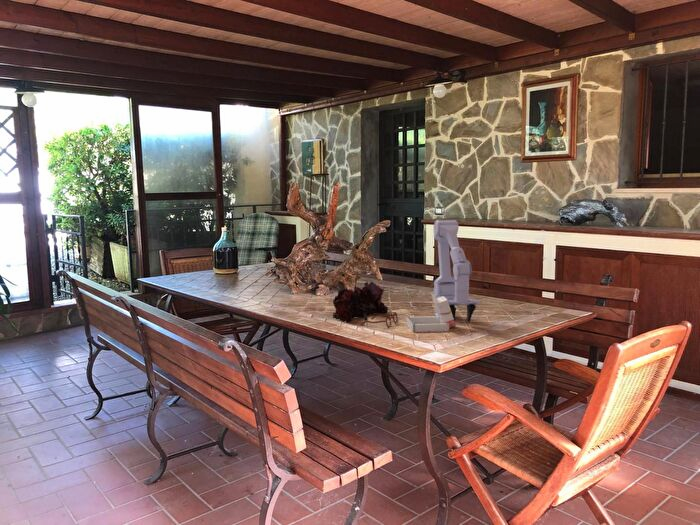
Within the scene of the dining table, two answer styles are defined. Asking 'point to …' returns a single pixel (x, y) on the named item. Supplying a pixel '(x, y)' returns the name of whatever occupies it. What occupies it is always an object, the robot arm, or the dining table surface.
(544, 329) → the dining table surface
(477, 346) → the dining table surface
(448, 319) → the ink cartridge box
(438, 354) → the dining table surface
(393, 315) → the glasses
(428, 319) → the sorting bay
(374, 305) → the flower arrangement
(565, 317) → the dining table surface
